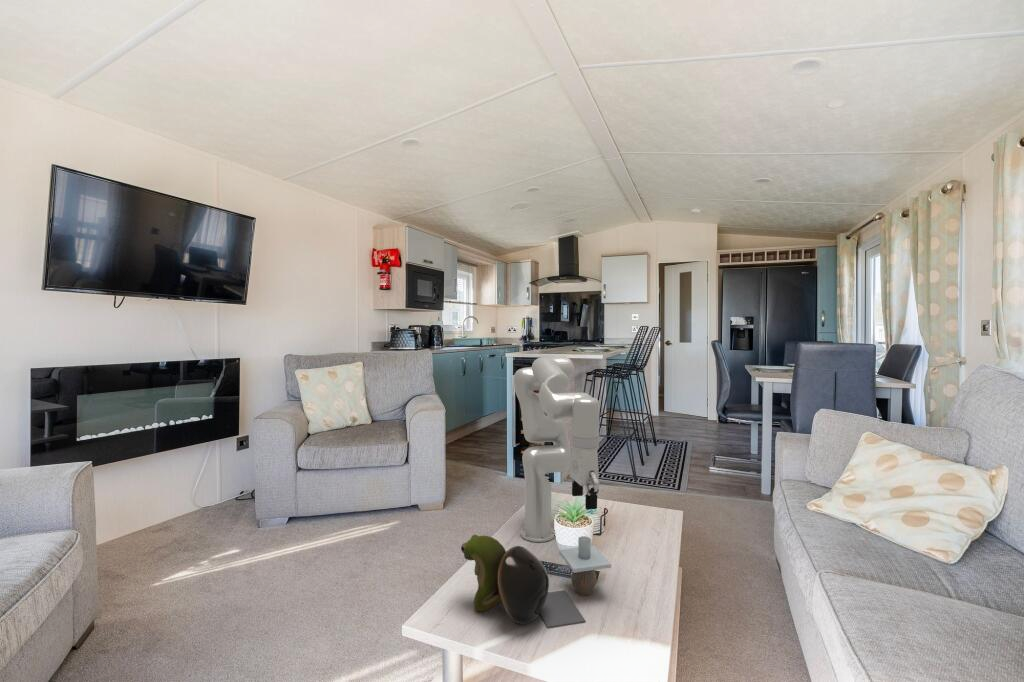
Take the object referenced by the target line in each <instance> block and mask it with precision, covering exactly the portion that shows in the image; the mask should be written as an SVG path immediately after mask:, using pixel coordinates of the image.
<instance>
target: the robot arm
mask: <svg viewBox="0 0 1024 682" xmlns="http://www.w3.org/2000/svg"><path fill="white" fill-rule="evenodd" d="M574 375H575V365H574V363H573V361H572V359H570V358H569V357H567V356H561V355H560V356H558V355H557V356H541V357H538V358H536V359H535V360H534V361H533V362H532V365H531V367H523V368H519V369H517V370H516V371H515V372H514V376H513V387H514V388H513V389H514V391H515V394H516V397H517V399H518V402H519V406H520V411H521V412H520V413H521V422H522V429H523V430H522V431H523V435H524V436H523V437H524V438H525V440H526V441H527V442H529V443H534V444H535V443H547V442H549V443H550V442H551V443H553V445H552V444H551V445H539V446H531V447H528V448H526V449H525V450H524V451H523V453H522V457H521V459H522V461H521V462H522V466H523V467H522V468H523V474H524V526H523V527H521V528H520V529H519V534H520V536H521V538H523V539H524V540H526V541H529V542H533V543H545V542H548V541H549V542H550V541H551V540H553V539H554V538H555V537H556V535H555V536H554V530H555V529H554V528H553V527H552V485H551V482H550V480H549V479H548V478H547V477H546V474H551V473H553V474H554V473H561V472H567V471H568V470H569V476H570V478H571V495H572V496H573V497H581V496H583V495H584V487H585V491H586V494H585V500H584V501H585V504H584V505H585V510H586V511H588V510H596V509H598V495H599V489H600V486H601V485H600V481H599V457H598V456H599V455H598V449H599V448H600V446H599V445H600V402H599V401H600V400H598V398H596V397H592V396H591V395H590V394H589V393H586V392H566V390H567V389H568V387H569V382H570V381H571V380H572V378H574ZM535 391H539V392H538V394H537V393H536V392H535ZM567 419H568V420H569V419H571V448H570V439H569V434H568V433H569V432H568V427H567V424H566V421H565V420H567Z"/></svg>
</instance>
